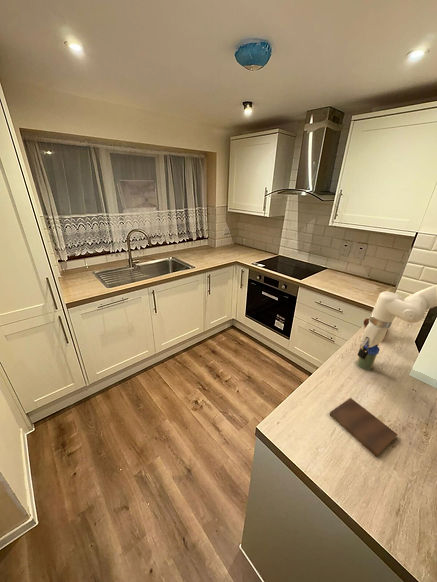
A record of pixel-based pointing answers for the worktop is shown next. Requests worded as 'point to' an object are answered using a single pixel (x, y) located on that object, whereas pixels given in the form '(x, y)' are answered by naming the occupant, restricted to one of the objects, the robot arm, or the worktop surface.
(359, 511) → the worktop surface
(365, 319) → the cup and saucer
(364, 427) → the board
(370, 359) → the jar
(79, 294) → the worktop surface
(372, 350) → the lid
